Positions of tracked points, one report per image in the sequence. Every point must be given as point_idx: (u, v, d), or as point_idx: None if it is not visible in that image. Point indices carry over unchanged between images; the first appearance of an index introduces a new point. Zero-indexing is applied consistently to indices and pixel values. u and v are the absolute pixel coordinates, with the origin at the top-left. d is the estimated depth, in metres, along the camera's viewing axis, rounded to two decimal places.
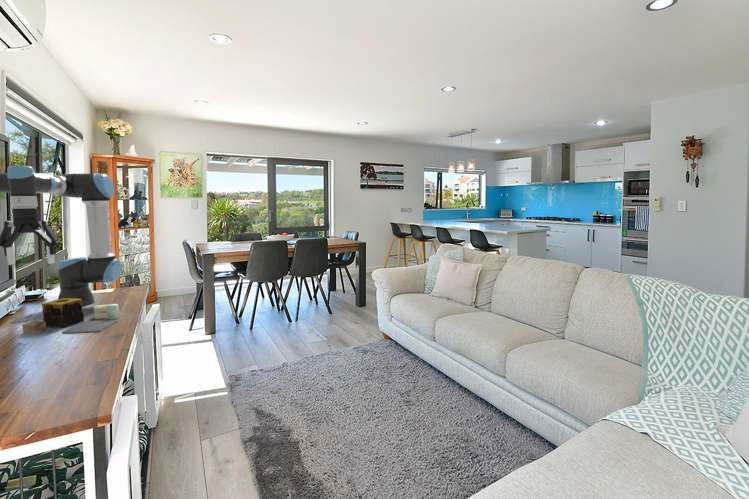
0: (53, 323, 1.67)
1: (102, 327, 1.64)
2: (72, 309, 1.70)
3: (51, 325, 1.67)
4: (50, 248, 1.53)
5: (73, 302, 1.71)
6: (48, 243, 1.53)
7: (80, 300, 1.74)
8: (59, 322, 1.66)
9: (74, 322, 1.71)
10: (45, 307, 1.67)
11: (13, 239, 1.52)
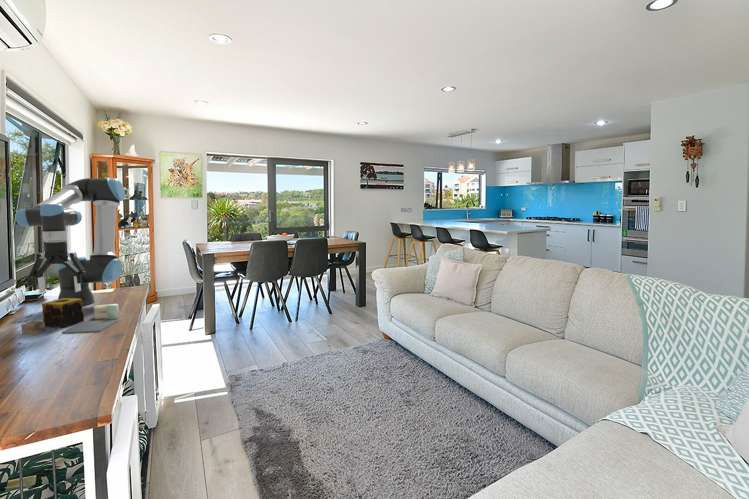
0: (53, 323, 1.67)
1: (102, 327, 1.64)
2: (72, 309, 1.70)
3: (51, 325, 1.67)
4: (77, 277, 1.69)
5: (73, 302, 1.71)
6: (75, 273, 1.68)
7: (80, 300, 1.74)
8: (59, 322, 1.66)
9: (74, 322, 1.71)
10: (45, 307, 1.67)
11: (44, 270, 1.67)
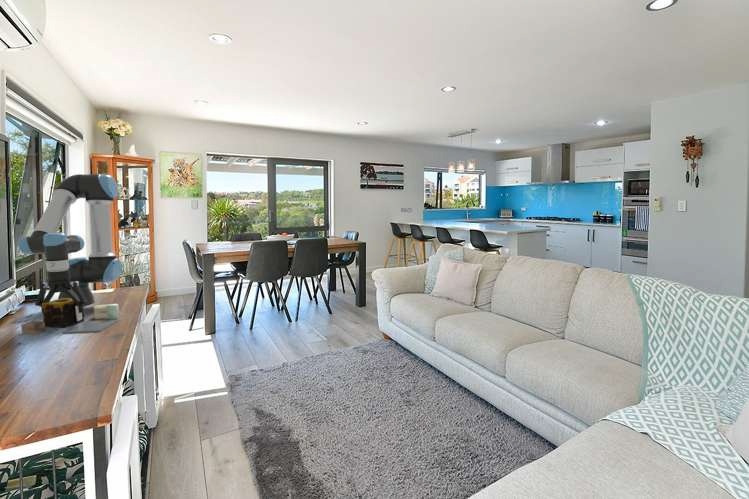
0: (53, 323, 1.67)
1: (102, 327, 1.64)
2: (72, 309, 1.70)
3: (51, 325, 1.67)
4: (79, 307, 1.71)
5: (73, 302, 1.71)
6: (77, 302, 1.70)
7: None
8: (59, 322, 1.66)
9: (74, 322, 1.71)
10: (45, 307, 1.67)
11: (49, 299, 1.69)
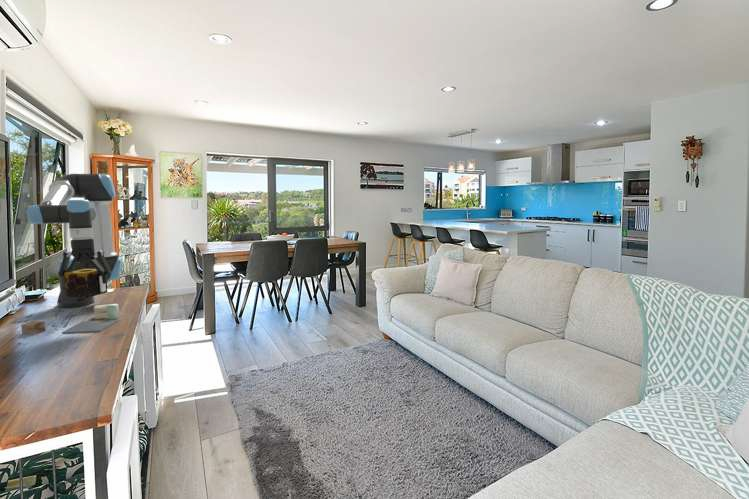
0: (77, 293, 1.60)
1: (102, 327, 1.64)
2: (96, 279, 1.63)
3: (75, 295, 1.60)
4: (103, 277, 1.64)
5: (97, 272, 1.64)
6: (101, 273, 1.63)
7: None
8: (84, 292, 1.59)
9: (98, 293, 1.64)
10: (68, 277, 1.60)
11: (72, 268, 1.62)
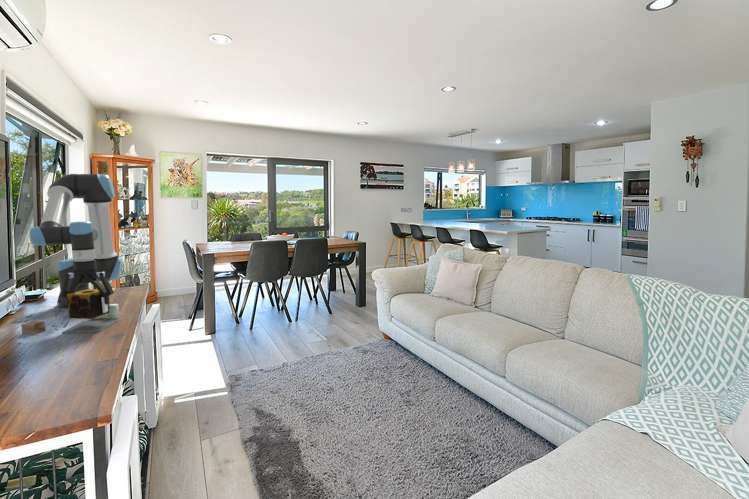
0: (80, 314, 1.61)
1: (102, 327, 1.64)
2: (99, 300, 1.64)
3: (77, 316, 1.61)
4: (105, 298, 1.65)
5: (99, 293, 1.65)
6: (103, 294, 1.64)
7: None
8: (86, 313, 1.60)
9: (100, 313, 1.65)
10: (70, 298, 1.61)
11: (75, 290, 1.64)
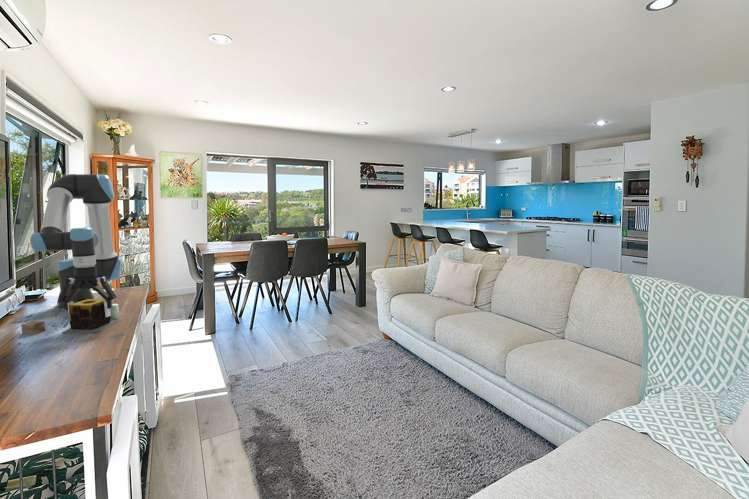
0: (81, 324, 1.61)
1: (102, 327, 1.64)
2: (100, 310, 1.65)
3: (79, 327, 1.62)
4: (107, 302, 1.66)
5: (100, 303, 1.66)
6: (106, 298, 1.65)
7: None
8: (87, 324, 1.61)
9: (102, 323, 1.66)
10: (72, 309, 1.61)
11: (74, 295, 1.64)
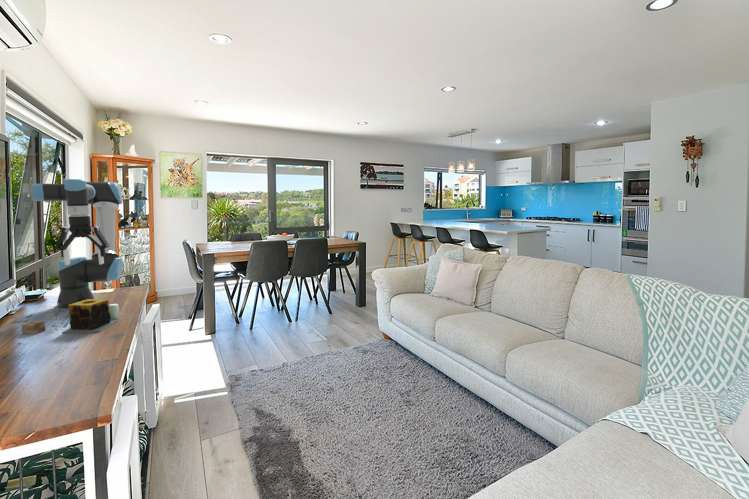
0: (81, 324, 1.61)
1: (102, 327, 1.64)
2: (100, 310, 1.65)
3: (79, 327, 1.62)
4: (101, 251, 1.76)
5: (101, 303, 1.66)
6: (99, 246, 1.75)
7: (107, 301, 1.69)
8: (87, 324, 1.61)
9: (102, 323, 1.66)
10: (72, 309, 1.61)
11: (69, 243, 1.74)
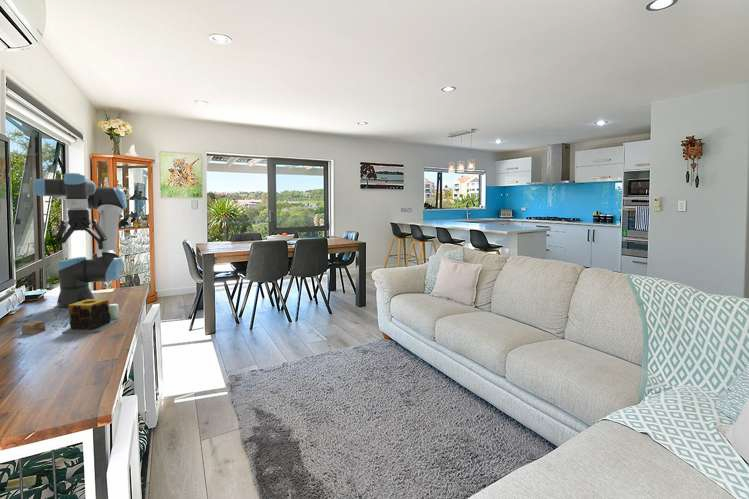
0: (81, 324, 1.61)
1: (102, 327, 1.64)
2: (100, 310, 1.65)
3: (79, 327, 1.62)
4: (99, 244, 1.79)
5: (101, 303, 1.66)
6: (97, 239, 1.78)
7: (107, 301, 1.69)
8: (87, 324, 1.61)
9: (102, 323, 1.66)
10: (72, 309, 1.61)
11: (67, 236, 1.77)
